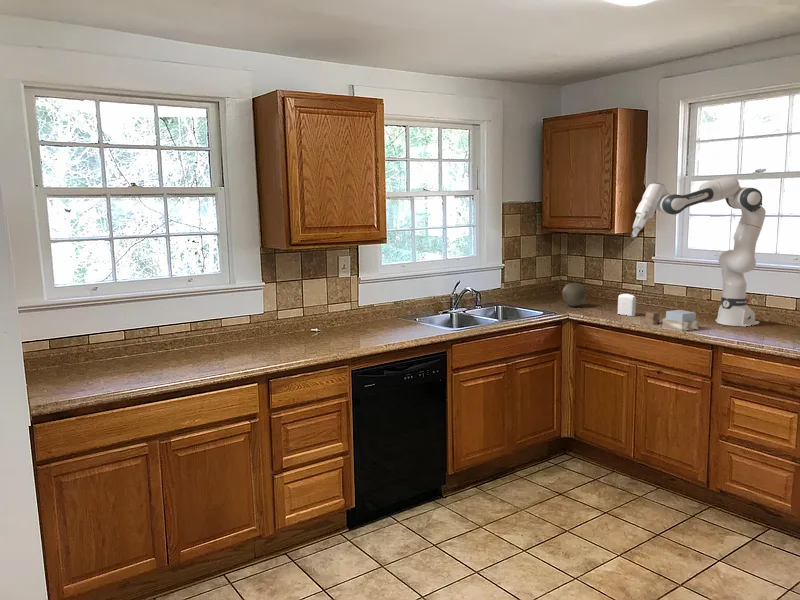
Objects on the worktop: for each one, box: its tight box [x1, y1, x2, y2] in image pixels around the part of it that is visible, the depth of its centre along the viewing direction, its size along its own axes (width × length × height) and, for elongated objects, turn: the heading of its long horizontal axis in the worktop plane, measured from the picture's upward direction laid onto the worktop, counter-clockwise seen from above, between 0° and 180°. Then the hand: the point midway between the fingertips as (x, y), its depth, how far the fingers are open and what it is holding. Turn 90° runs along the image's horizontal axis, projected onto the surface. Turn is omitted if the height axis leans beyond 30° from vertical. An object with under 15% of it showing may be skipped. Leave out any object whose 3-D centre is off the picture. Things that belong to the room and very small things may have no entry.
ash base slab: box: [661, 317, 699, 332], centre depth 330 cm, size 12×12×5 cm
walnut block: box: [644, 311, 661, 325], centre depth 343 cm, size 5×5×6 cm
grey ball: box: [561, 282, 587, 308], centre depth 398 cm, size 14×14×15 cm
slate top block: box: [665, 309, 697, 322], centre depth 330 cm, size 10×10×4 cm
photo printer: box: [617, 293, 637, 317], centre depth 368 cm, size 10×4×12 cm, turn 39°
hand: (633, 236), depth 337 cm, fingers open, 8 cm apart
